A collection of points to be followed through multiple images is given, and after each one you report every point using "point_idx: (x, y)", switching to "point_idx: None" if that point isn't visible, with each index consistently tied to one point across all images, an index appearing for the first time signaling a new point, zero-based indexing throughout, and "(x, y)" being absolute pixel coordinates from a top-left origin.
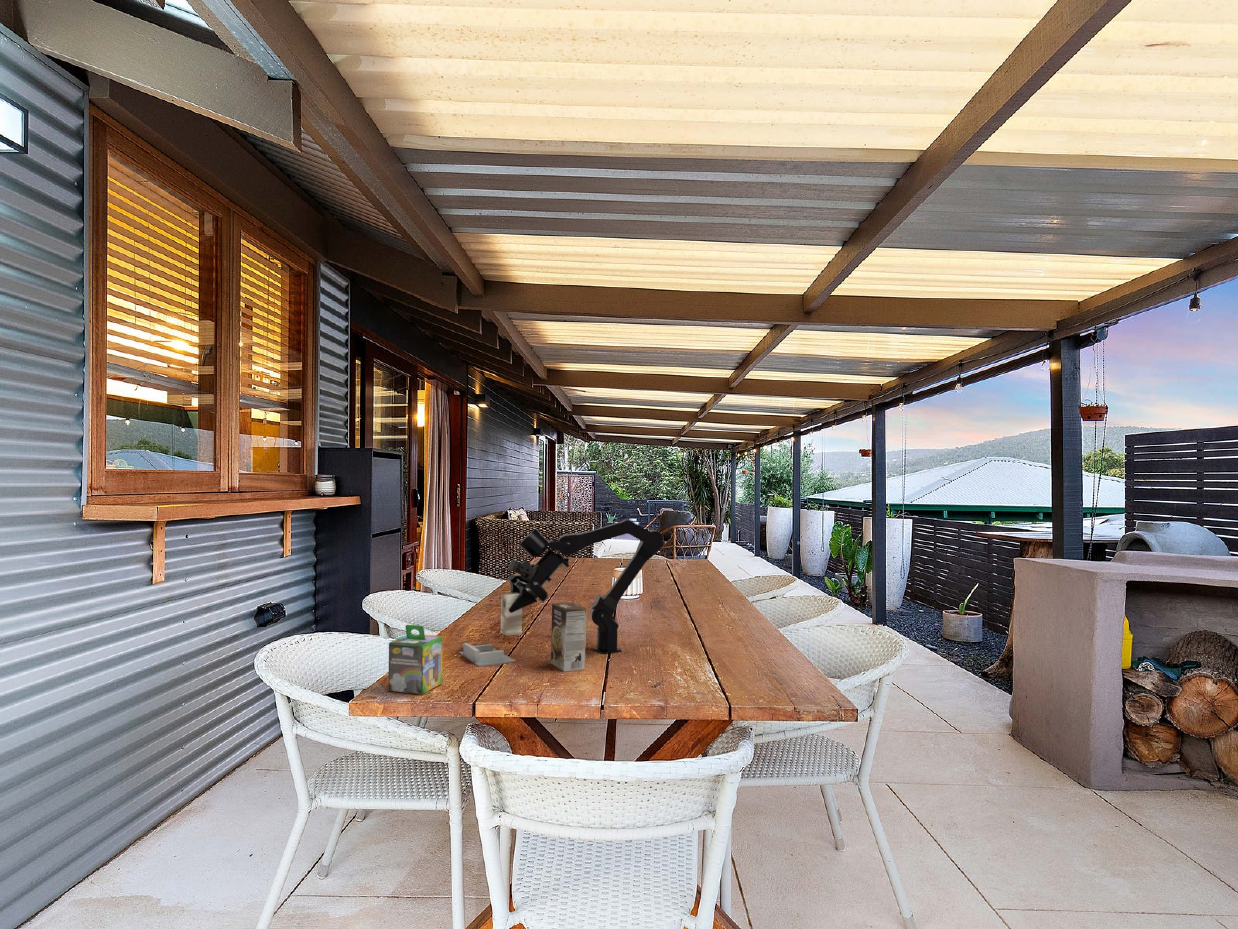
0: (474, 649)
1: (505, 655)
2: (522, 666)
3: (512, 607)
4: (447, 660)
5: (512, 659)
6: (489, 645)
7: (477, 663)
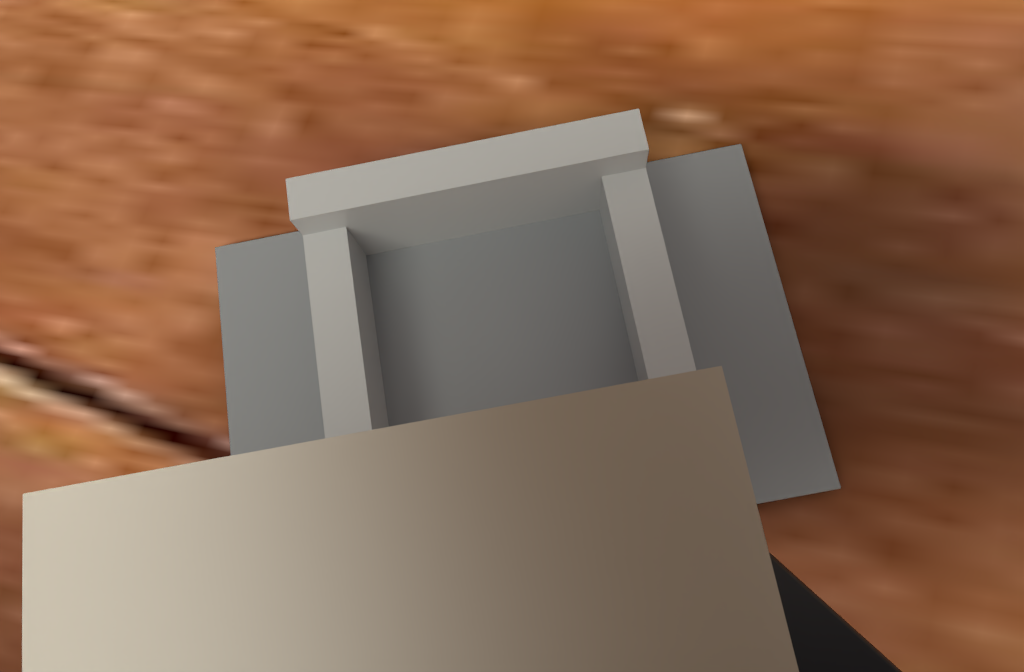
0: (339, 179)
1: None
2: None
3: None
4: (524, 43)
5: None
6: None
7: (281, 243)
